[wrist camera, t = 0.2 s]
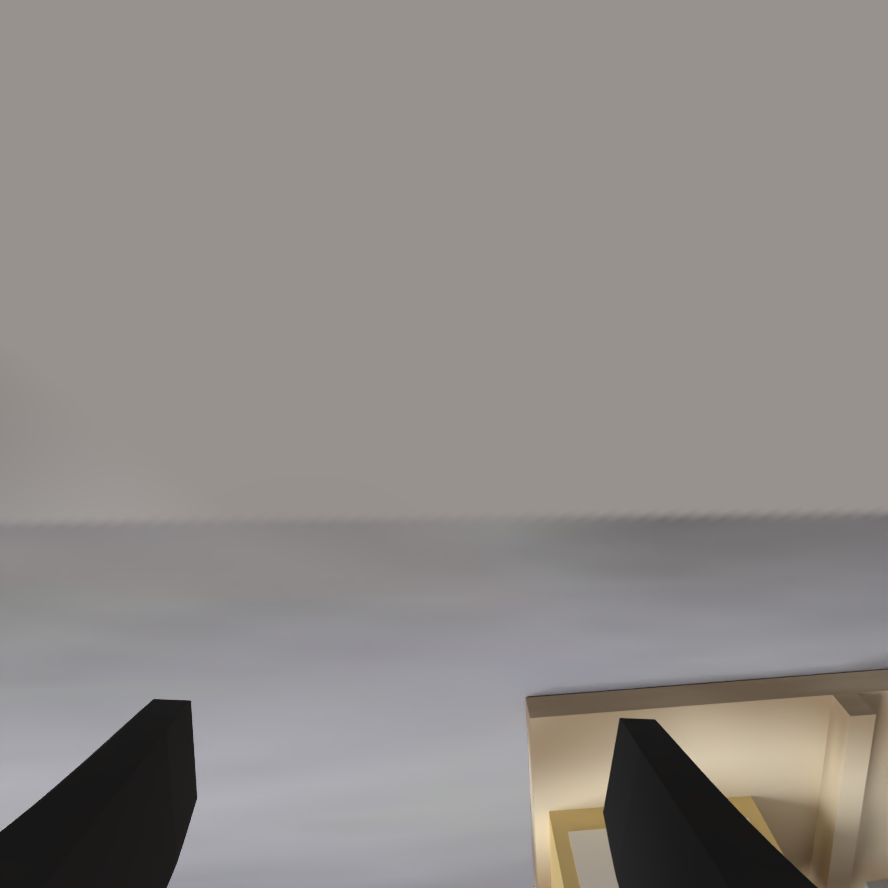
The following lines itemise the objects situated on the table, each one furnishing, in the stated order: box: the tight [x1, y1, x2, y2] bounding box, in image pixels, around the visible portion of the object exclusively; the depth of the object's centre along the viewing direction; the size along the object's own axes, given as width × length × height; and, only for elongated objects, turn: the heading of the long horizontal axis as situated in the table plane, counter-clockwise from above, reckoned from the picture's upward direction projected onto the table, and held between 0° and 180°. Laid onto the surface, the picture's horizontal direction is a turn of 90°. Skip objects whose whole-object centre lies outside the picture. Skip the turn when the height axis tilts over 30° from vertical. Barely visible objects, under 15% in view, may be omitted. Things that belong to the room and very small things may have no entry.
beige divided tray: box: [526, 669, 888, 888], centre depth 24 cm, size 16×18×2 cm
